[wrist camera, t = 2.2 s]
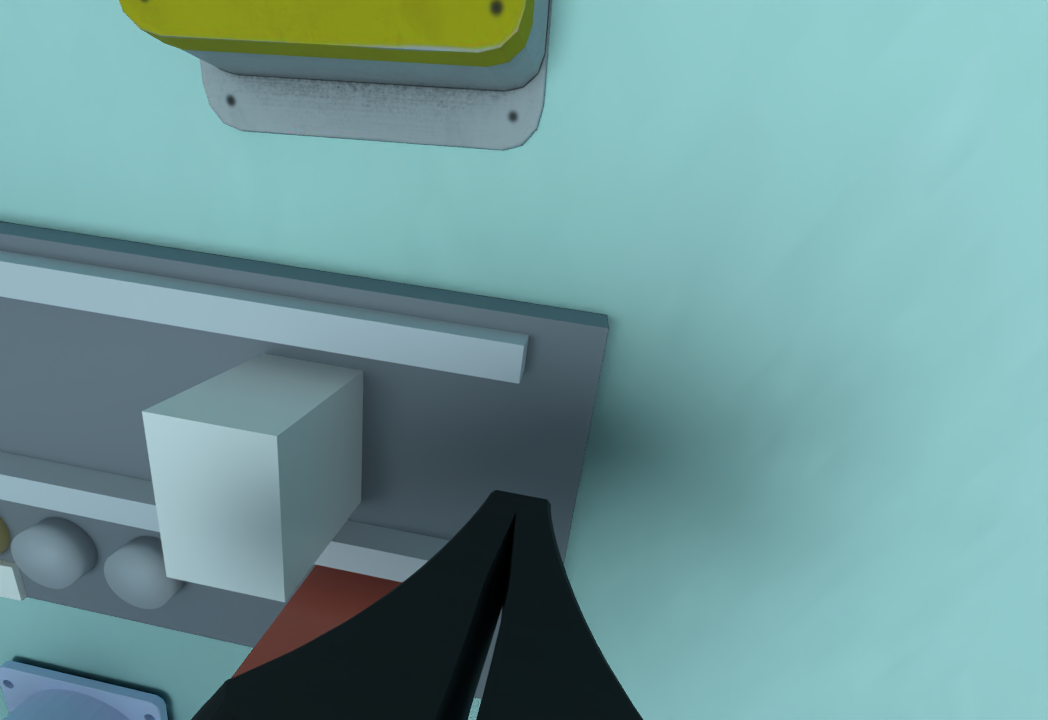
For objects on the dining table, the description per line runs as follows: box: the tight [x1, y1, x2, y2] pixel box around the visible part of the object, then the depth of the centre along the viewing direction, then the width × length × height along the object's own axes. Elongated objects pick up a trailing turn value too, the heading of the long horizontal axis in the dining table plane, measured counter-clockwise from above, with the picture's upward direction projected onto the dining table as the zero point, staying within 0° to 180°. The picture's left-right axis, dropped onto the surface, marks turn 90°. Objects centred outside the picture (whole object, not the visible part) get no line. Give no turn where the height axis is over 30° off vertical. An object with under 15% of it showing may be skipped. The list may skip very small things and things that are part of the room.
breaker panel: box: [0, 222, 609, 699], centre depth 16 cm, size 14×24×2 cm, turn 83°
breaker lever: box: [142, 354, 363, 602], centre depth 13 cm, size 4×3×4 cm
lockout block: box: [232, 565, 402, 678], centre depth 14 cm, size 4×4×5 cm
